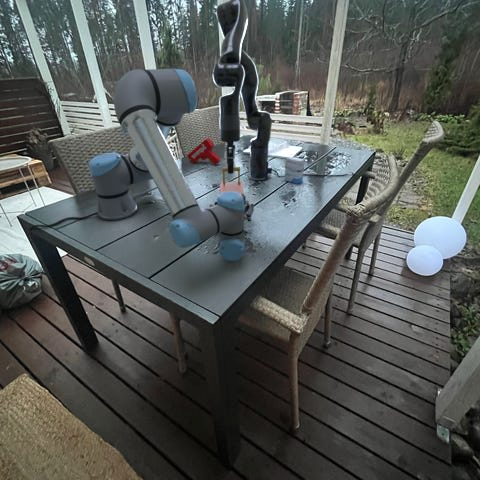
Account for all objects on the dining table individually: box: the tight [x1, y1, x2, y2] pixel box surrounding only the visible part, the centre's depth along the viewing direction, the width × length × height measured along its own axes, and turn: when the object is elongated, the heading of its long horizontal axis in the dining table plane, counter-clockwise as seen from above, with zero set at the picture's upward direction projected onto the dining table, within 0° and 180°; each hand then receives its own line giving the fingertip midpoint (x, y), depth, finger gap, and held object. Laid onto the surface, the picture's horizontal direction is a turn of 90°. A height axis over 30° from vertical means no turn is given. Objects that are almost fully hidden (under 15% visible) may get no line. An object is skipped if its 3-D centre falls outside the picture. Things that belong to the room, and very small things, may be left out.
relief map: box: [242, 138, 304, 160], centre depth 192 cm, size 27×35×5 cm
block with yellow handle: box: [218, 166, 245, 196], centre depth 108 cm, size 13×10×8 cm
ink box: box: [284, 156, 306, 185], centre depth 140 cm, size 8×5×12 cm, turn 47°
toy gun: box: [186, 137, 221, 166], centre depth 168 cm, size 18×4×15 cm
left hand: (231, 199), depth 110 cm, fingers closed on chest, 9 cm apart
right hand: (230, 169), depth 109 cm, fingers open, 8 cm apart
